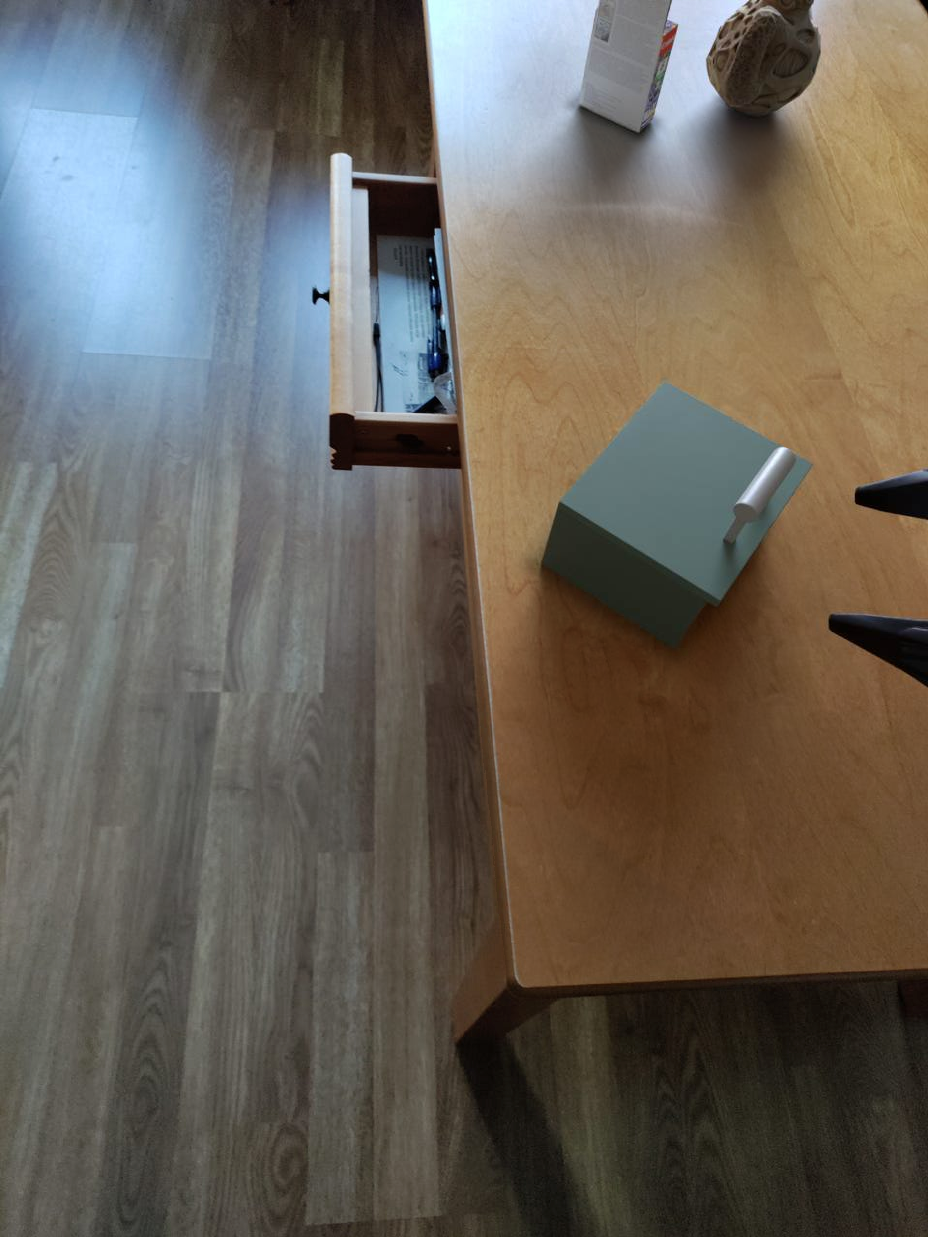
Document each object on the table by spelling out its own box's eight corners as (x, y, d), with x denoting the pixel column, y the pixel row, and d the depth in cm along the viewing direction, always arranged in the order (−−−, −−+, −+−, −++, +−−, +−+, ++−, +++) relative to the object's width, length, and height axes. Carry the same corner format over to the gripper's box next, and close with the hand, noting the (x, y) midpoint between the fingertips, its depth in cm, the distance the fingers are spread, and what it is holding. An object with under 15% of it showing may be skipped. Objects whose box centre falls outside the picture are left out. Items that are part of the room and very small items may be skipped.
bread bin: (762, 521, 68) (798, 465, 62) (674, 649, 61) (705, 601, 56) (637, 447, 71) (661, 388, 65) (540, 563, 64) (556, 508, 58)
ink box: (592, 91, 96) (624, -62, 83) (654, 120, 94) (696, -33, 81) (575, 105, 94) (605, -49, 82) (637, 135, 92) (678, -19, 80)
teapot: (723, 48, 103) (773, -105, 90) (816, 79, 101) (880, -72, 88) (666, 138, 93) (712, -20, 80) (767, 174, 91) (832, 19, 78)
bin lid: (809, 470, 62) (840, 424, 58) (716, 607, 55) (744, 566, 51) (661, 387, 65) (680, 337, 60) (556, 508, 58) (570, 461, 54)
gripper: (1249, 309, 39) (869, 326, 46) (1288, 644, 30) (808, 598, 37) (1178, 485, 47) (865, 475, 54) (1192, 790, 38) (814, 728, 45)
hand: (842, 555), depth 48 cm, fingers open, 9 cm apart
